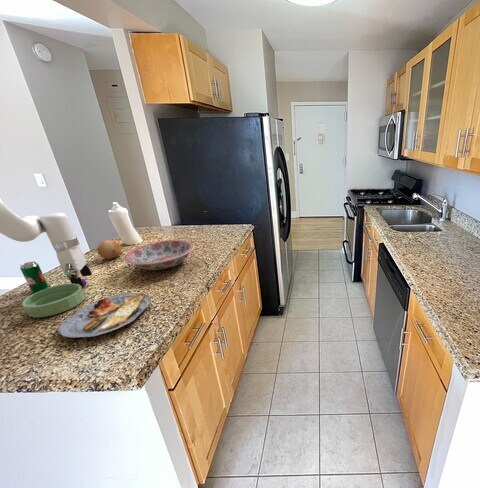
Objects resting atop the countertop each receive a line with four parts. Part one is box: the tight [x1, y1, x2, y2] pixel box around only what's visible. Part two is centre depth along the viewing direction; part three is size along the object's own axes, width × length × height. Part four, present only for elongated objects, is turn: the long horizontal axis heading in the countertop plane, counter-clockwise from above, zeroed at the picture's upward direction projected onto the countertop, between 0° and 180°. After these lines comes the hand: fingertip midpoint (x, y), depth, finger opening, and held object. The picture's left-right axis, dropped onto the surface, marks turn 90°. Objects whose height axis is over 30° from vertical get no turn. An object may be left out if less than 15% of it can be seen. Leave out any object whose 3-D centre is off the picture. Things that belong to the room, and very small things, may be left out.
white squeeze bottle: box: [107, 202, 144, 246], centre depth 152 cm, size 12×11×25 cm
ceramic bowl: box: [124, 239, 195, 271], centre depth 127 cm, size 29×29×8 cm
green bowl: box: [21, 283, 86, 318], centre depth 97 cm, size 16×16×5 cm
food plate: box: [57, 292, 152, 339], centre depth 90 cm, size 25×23×4 cm
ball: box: [81, 278, 87, 288], centre depth 109 cm, size 4×4×4 cm
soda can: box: [19, 261, 49, 293], centre depth 106 cm, size 5×5×12 cm
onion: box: [97, 239, 123, 260], centre depth 135 cm, size 10×10×10 cm
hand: (83, 280), depth 110 cm, fingers open, 9 cm apart
